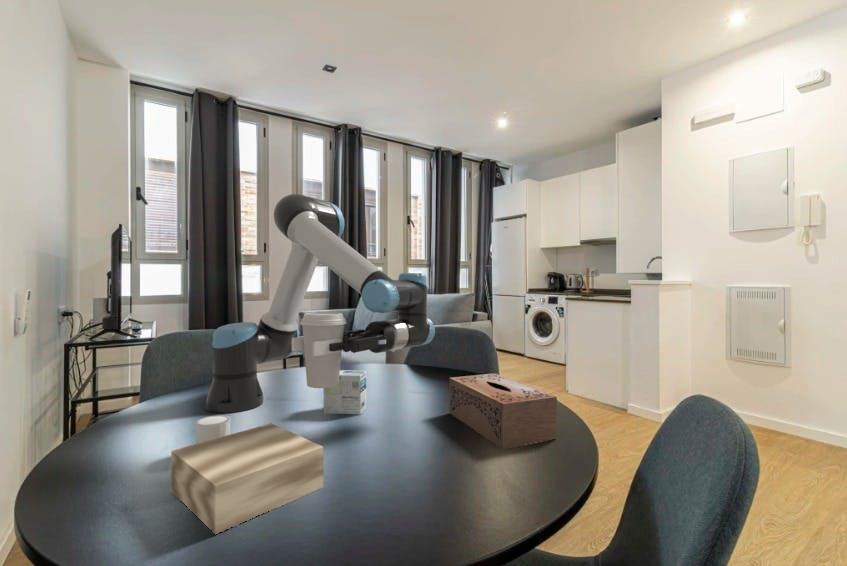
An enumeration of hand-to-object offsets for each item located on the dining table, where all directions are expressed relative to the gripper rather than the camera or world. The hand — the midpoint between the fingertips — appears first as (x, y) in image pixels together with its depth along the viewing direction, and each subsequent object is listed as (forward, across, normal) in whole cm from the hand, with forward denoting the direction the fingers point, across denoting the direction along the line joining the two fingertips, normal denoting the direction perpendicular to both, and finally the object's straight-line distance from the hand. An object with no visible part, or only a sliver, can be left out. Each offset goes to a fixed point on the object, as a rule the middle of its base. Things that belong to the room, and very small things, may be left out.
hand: (303, 346), depth 82 cm
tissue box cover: (-43, -20, -23) cm, 53 cm away
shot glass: (+11, +16, -23) cm, 30 cm away
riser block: (+13, -4, -23) cm, 26 cm away
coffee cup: (-5, 0, -9) cm, 10 cm away
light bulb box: (-25, +18, -23) cm, 38 cm away
